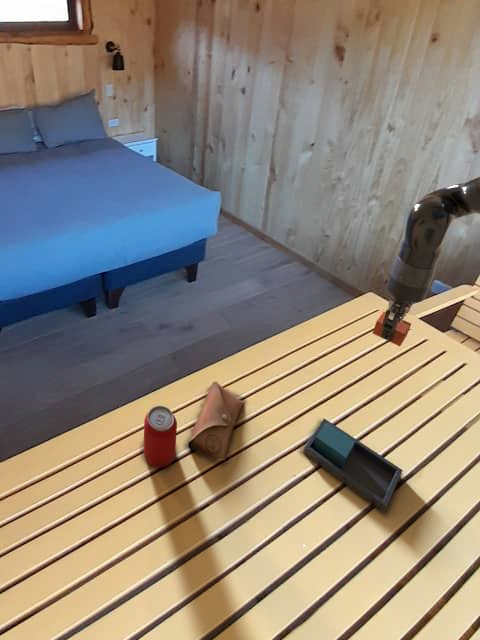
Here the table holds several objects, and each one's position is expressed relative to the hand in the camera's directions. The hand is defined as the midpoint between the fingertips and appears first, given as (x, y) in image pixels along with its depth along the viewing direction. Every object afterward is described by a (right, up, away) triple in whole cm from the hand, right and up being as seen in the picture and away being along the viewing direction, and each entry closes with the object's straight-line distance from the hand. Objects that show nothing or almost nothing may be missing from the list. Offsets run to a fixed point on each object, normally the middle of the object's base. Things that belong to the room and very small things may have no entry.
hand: (390, 332), depth 98 cm
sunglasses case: (-44, -20, -5) cm, 48 cm away
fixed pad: (-21, -22, -12) cm, 32 cm away
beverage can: (-58, -23, -11) cm, 63 cm away
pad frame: (-18, -23, -14) cm, 33 cm away
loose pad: (0, -1, 0) cm, 1 cm away
